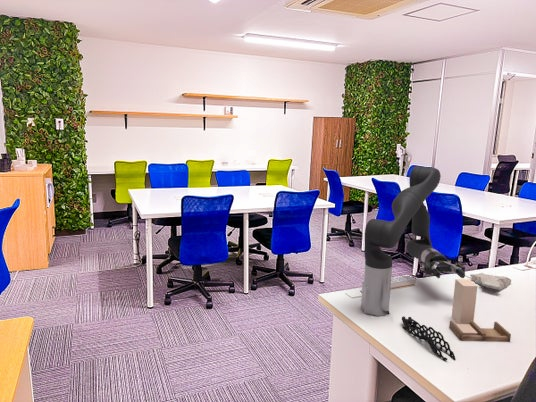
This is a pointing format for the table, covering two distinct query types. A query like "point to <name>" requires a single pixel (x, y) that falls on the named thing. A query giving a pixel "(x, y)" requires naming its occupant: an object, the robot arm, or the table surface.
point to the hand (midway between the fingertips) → (451, 275)
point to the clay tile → (466, 329)
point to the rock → (491, 281)
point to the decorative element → (429, 339)
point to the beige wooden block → (464, 301)
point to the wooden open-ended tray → (482, 333)
